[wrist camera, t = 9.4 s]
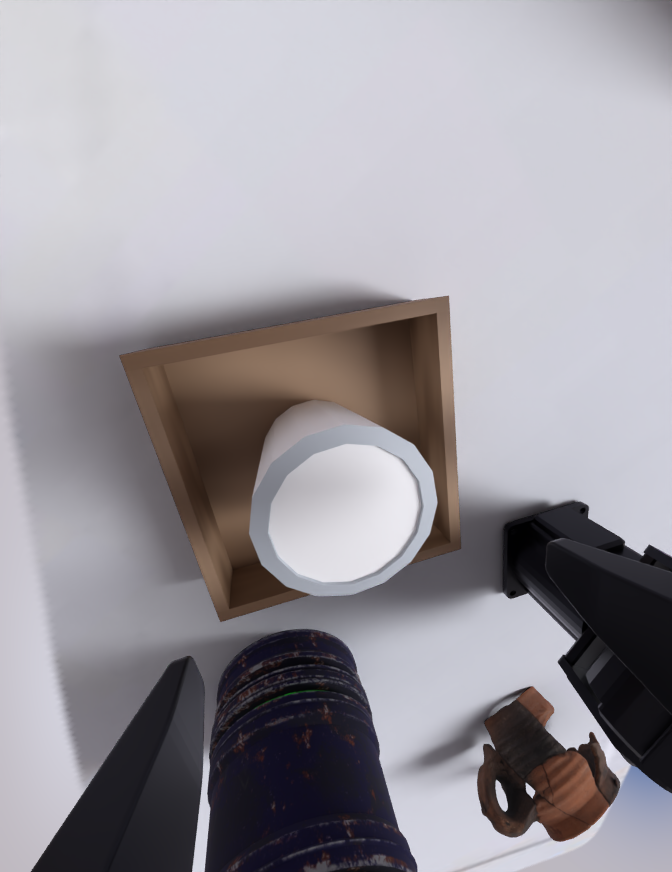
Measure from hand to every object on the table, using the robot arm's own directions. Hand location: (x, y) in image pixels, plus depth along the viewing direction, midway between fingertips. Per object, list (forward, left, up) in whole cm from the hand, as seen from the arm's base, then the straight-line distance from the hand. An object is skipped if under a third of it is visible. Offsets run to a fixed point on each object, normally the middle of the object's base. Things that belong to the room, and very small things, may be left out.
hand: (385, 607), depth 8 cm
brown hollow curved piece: (-32, -13, -12) cm, 37 cm away
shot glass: (0, 0, -11) cm, 11 cm away
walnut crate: (0, 0, -12) cm, 12 cm away
